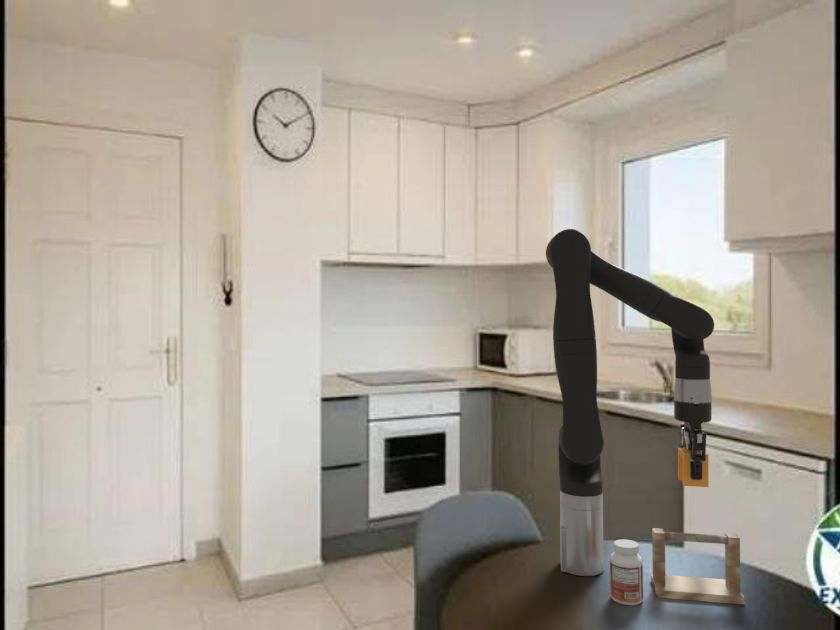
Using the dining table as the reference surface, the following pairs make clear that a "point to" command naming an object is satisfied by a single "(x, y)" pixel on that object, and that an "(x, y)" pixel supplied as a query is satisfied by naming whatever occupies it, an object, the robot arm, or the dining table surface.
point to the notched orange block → (685, 469)
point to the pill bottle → (626, 573)
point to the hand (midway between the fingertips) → (692, 475)
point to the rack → (697, 586)
